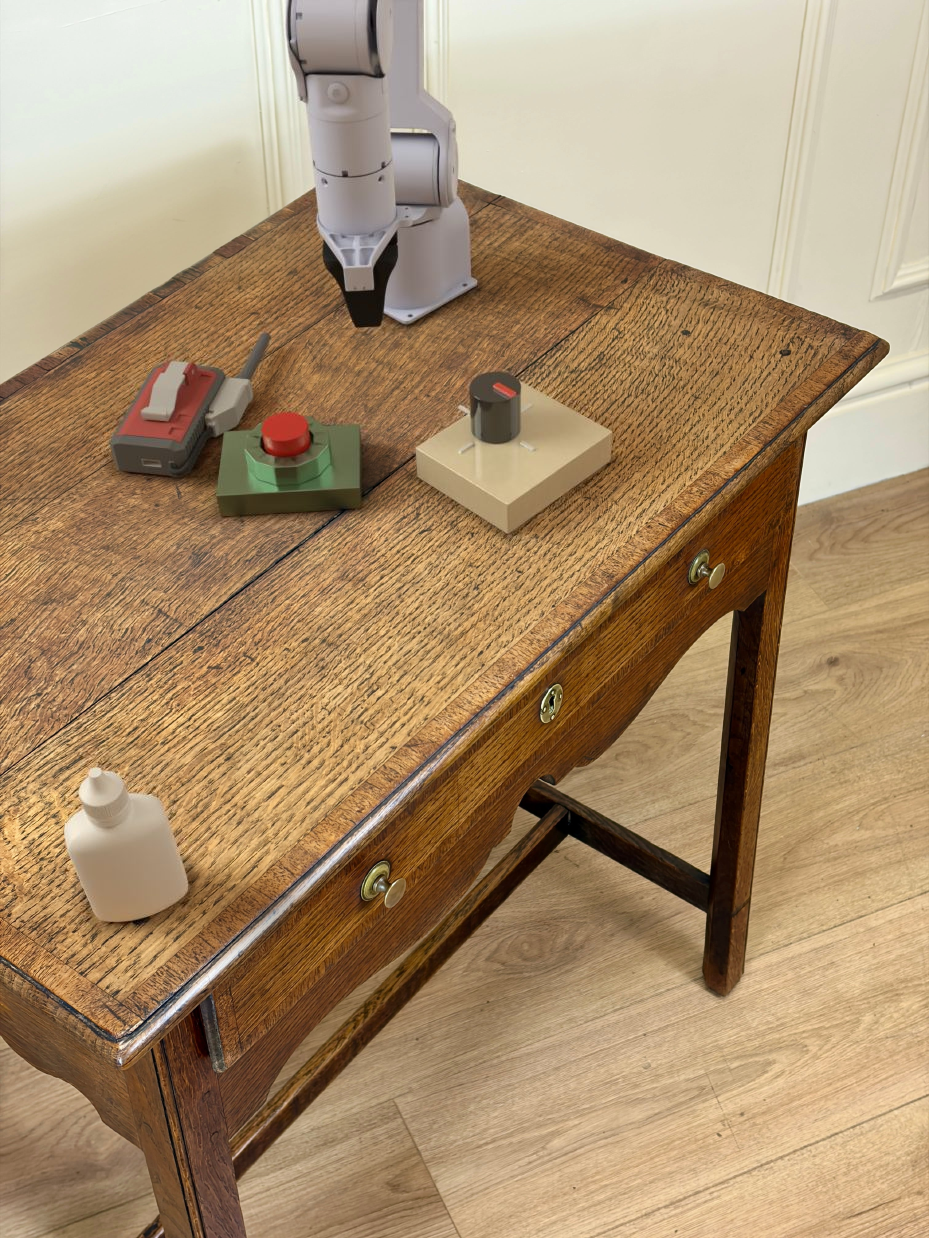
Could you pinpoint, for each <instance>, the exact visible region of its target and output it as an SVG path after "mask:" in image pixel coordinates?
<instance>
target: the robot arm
mask: <svg viewBox="0 0 929 1238" xmlns="http://www.w3.org/2000/svg"><path fill="white" fill-rule="evenodd" d="M424 11H425V0H286V3H285V15H284V17H285V19H284V20H285V21H284V24H285V26H284V27H285V28H284V29H285V39H286V46H287V47H286V48H287V53H288V59H289V63H290V66H291V69H292V71H293V74H294V78H295V80H296V81H295V82H296V88H297V96H298V97H299V101H300V102H303V103H304V104H305V111H306V119H307V128H308V136H309V145H310V153H311V154H310V155H311V162H312V170H313V178H314V186H315V197H316V204H317V214H316V227H317V231H318V233H319V235H320V236H321V237H322V240H323V241H322V253H321V256H322V262H323V264H324V267H325V270H326V271H327V272H329V274H330V275H331V276H332V278H333V279H334V281H335V282H336V283H337V286H338V287H339V289H340V291H341V293H342V295H343V299H344V302H345V305H346V308H347V310H348V314H349V317H350V319H351V322H352V324H353V327H354V328H356V329H359V328H361V329H362V328H376V327H377V328H379V327H381V326H382V323H383V318H384V314H385V315H386V316H389V317H390V318H392V319H393V320H396V321H397V322H399V323H401V324H403V325H410V324H412V323H414V322H415V321H417V320H419V319H421V318H422V317H424V316H427V315H428V314H429V313H431V312H433V311H435V310H437V309H438V308H440V307H442V306H443V305H445V304H448V303H449V302H450V301H452V300H454V299H456V298H458V297H459V296H461V295H462V294H464V293H466V292H468V291H470V290H472V289H473V288H475V287H476V286H477V285H478V280H477V278H475V277H473V276H472V265H471V228H470V226H471V225H470V218H469V215H468V211H467V209H466V206H465V204H464V202H463V200H461V199H462V198H460V197H459V195H458V184H459V147H458V140H457V121H456V120H455V119H454V116H453V113H452V112H451V110H449V108H447V107H446V106H445V105H444V104H442V103H441V102H440V101H439V100H438V99H436V97H434V96H433V95H431V94H430V93H429V92H428V91H427V90H426V89H425V21H424V20H425V12H424ZM391 129H405V130H406V129H407V130H409V129H411V130H423V131H428V132H407V131H404V132H403V131H402V132H401V131H391Z"/></svg>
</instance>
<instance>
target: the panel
mask: <svg viewBox="0 0 929 1238" xmlns="http://www.w3.org/2000/svg"><path fill="white" fill-rule="evenodd" d="M519 381H520V383H521V431H520V433H519V434H518V436H517V437H515V438H514V439H512V440H510V441H508V442H505V443H498V444H493V443H486V442H483V441H480V440H479V439H477V438H476V437H475V436H474V435H473V434H472V432H471V426H470V408H467V407H465V406H464V405H462V404H460V405H458V406H457V410H460V411H461V412H463V413H465V415H464V416H462V417H461V418H459V419H458V420H456V421H455V422H453V423H451V424H450V425H448V426H447V427H446V428H444V429H442V430H441V431H439V432H438V433H435V434H434V435H433V436H431V437H430V438H428V439H426V440H424V441H423V442H421V443H420V444H418V445H417V446H416V447H415V449H414V450H415V462H416V464H415V465H416V476H417V478H418V479H420V480H421V481H423V482H424V483H426V484H428V485H430V486H431V487H432V488H434V489H436V490H437V491H439V492H440V493H442V494H444V495H445V496H447V497H448V498H450V499H452V500H453V501H455V502H456V503H458V504H460V505H461V506H462V507H464V508H466V509H467V510H469V511H470V512H472V513H473V514H475V515H477V516H478V517H480V518H481V519H483V520H484V521H486V522H488V523H489V524H491V525H493V526H494V527H495V528H498V529H499V530H500V531H502V532H504V533H505V534H507V535H509V534H510V533H512V532H513V531H515V530H516V529H518V528H520V526H522V525H523V524H525V523H526V522H527V521H528V520H530V519H531V518H533V517H534V516H536V515H538V513H540V512H541V511H543V510H545V508H547V507H548V506H550V505H552V504H553V503H554V502H555V501H557V500H559V498H561V497H562V496H564V495H565V494H566V493H568V492H570V491H571V490H572V489H574V488H575V487H576V486H577V485H580V483H581V482H583V481H585V480H586V479H588V478H589V477H590V476H592V475H593V474H595V473H596V472H598V471H599V470H600V469H602V468H604V466H605V465H607V464H608V463H610V462H611V458H612V444H613V430H610V429H609V428H607V427H605V426H603V425H602V424H601V423H598V422H597V421H595V420H593V419H590V418H589V417H587V416H585V415H583V414H581V413H580V412H578V411H576V410H574V409H572V408H570V407H569V406H567V405H565V404H563V403H562V402H560V401H557V400H556V399H555V398H552V397H551V396H548V395H547V394H544V393H543V392H541V391H539V390H537V389H536V388H534V387H532V386H531V385H529V384H527V383H525V382H523V381H521V380H519Z"/></svg>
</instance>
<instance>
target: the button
mask: <svg viewBox="0 0 929 1238" xmlns="http://www.w3.org/2000/svg"><path fill="white" fill-rule="evenodd" d="M303 416H304V415H302V414H299V413H296V412H289V411H287V412H286V411H285V412H279V413H275V414H272V415H271V416H269V417H268V418H266V419H265V420H264V421H263V422H264V423H263V424H262V428H261V430H262V436H263V442H264V447H265V450H266V451H267V453H268V454H270V455H272V456H275V457H278V458H281V457H294V456H297V455H299V454H302V453H304V452H305V451H306V450H307V449H308V448H309V446H310V443H311V441H310V434H309V427H308V422H307V420H306V419H305V418H304V417H303Z"/></svg>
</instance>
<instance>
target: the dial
mask: <svg viewBox="0 0 929 1238" xmlns="http://www.w3.org/2000/svg"><path fill="white" fill-rule="evenodd" d="M520 381H521V380H519V379H518V378H517V377H516V376H515V375H513V374H511V373H508V372H503V371H488V372H483V373H481V374H479V375H477V376H475V377H474V378H473V379H472V380H471V381H470V383H469V387H468V391H469V392H468V393H469V394H468V395H469V410H470V426H471V432H472V434H473V435H474V436H475V437H476V438H477V439H479V440H480V441H483V442H486V443H493V444H498V443H505V442H508V441H510V440H512V439H514V438H515V437H517V436H518V434H519V433H520V431H521V383H520Z"/></svg>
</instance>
